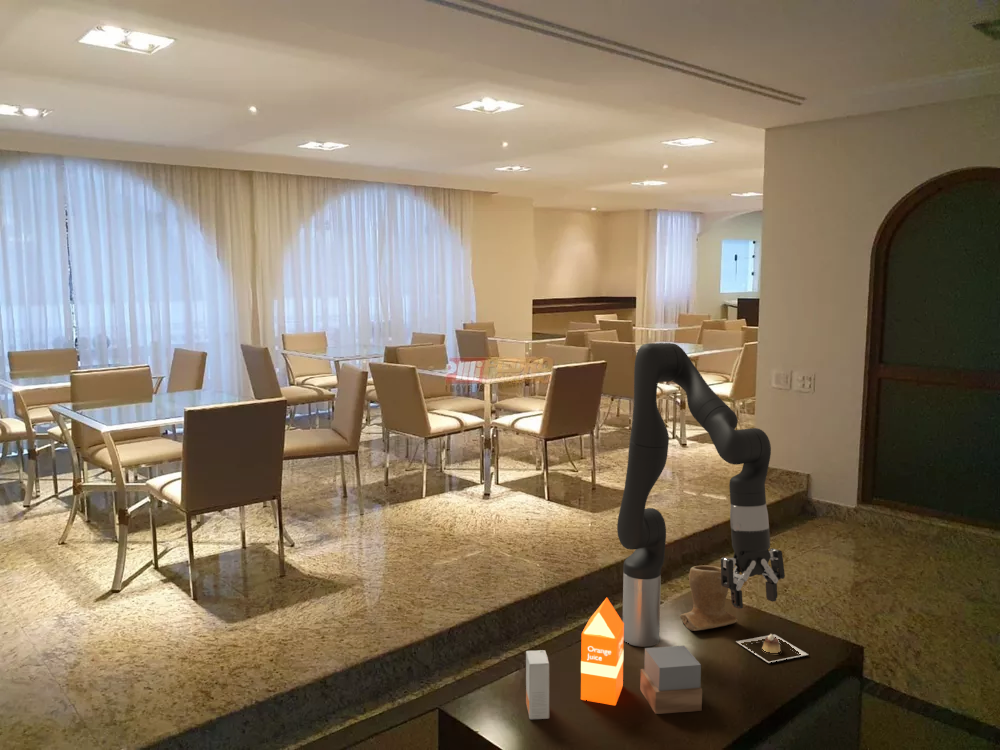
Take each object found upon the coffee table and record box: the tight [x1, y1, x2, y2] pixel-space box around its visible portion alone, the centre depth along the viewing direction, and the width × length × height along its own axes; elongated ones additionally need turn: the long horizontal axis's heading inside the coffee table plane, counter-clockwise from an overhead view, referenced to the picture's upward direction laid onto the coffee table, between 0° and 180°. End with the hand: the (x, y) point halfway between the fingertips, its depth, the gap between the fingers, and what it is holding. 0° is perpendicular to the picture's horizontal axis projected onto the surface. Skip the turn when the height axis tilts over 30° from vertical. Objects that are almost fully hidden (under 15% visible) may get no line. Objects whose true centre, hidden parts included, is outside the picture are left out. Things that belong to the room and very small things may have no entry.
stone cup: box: [679, 565, 738, 632], centre depth 201 cm, size 15×12×15 cm
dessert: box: [735, 633, 809, 664], centre depth 186 cm, size 12×12×5 cm
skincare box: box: [525, 649, 550, 720], centre depth 158 cm, size 6×4×12 cm
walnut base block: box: [639, 668, 703, 715], centre depth 163 cm, size 10×10×5 cm
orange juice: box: [580, 597, 625, 706], centre depth 165 cm, size 8×9×20 cm
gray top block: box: [643, 645, 702, 691], centre depth 163 cm, size 9×9×5 cm
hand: (754, 604), depth 157 cm, fingers open, 8 cm apart
